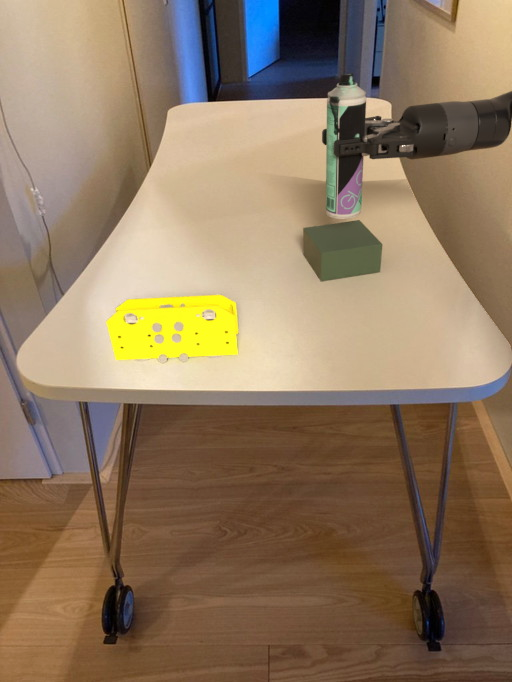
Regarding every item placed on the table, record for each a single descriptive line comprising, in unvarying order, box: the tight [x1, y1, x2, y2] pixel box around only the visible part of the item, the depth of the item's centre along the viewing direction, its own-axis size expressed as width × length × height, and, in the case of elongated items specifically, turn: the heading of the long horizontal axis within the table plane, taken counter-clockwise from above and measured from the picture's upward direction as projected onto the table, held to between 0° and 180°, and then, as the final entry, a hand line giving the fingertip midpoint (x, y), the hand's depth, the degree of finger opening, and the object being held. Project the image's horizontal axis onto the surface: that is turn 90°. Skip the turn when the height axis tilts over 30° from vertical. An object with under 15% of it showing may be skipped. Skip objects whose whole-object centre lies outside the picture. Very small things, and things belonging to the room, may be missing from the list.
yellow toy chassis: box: [105, 294, 240, 364], centre depth 71 cm, size 16×6×8 cm, turn 90°
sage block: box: [302, 219, 383, 282], centre depth 90 cm, size 10×10×5 cm
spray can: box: [325, 72, 367, 220], centre depth 81 cm, size 6×6×20 cm
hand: (328, 142), depth 80 cm, fingers closed on spray can, 5 cm apart
